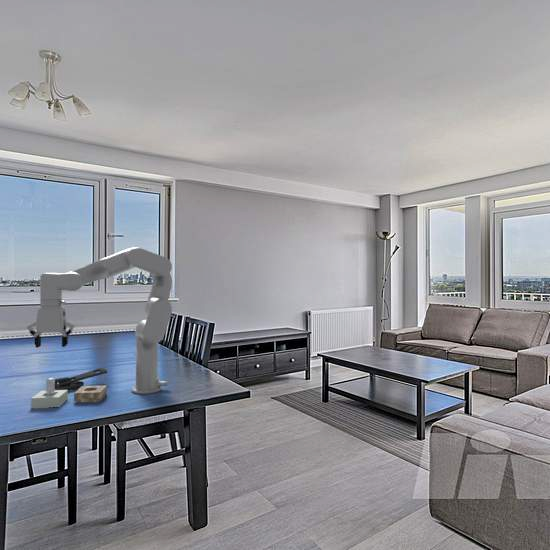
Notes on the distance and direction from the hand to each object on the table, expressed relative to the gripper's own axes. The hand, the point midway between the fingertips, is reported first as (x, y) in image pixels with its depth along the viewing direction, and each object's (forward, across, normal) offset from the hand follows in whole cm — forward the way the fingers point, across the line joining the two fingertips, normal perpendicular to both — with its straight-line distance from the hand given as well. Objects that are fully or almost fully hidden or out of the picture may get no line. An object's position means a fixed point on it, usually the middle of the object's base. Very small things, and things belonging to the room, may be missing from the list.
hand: (51, 346), depth 162 cm
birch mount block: (+23, -14, -5) cm, 27 cm away
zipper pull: (+23, -3, -23) cm, 33 cm away
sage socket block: (+23, 0, 0) cm, 23 cm away
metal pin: (+23, 0, 0) cm, 23 cm away
